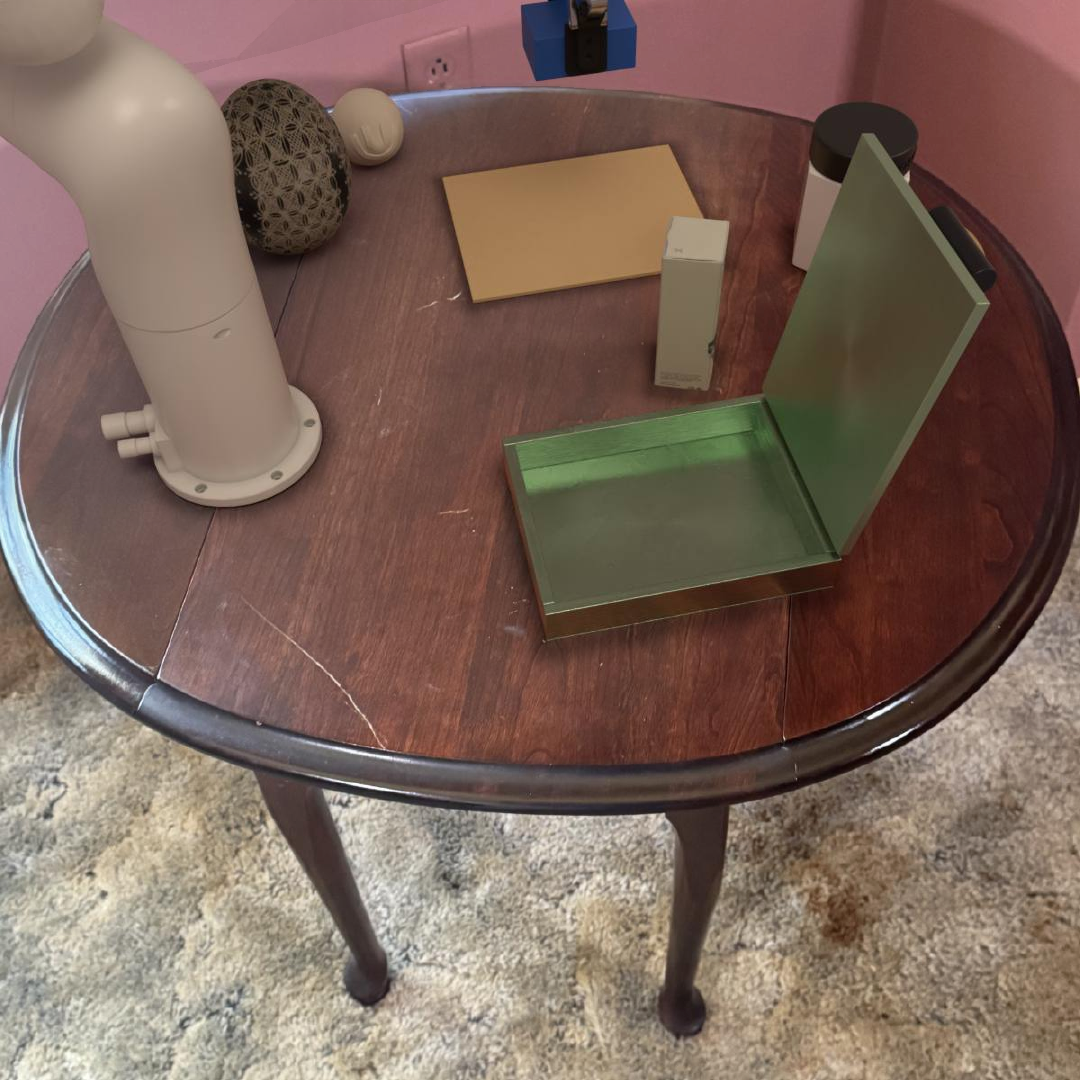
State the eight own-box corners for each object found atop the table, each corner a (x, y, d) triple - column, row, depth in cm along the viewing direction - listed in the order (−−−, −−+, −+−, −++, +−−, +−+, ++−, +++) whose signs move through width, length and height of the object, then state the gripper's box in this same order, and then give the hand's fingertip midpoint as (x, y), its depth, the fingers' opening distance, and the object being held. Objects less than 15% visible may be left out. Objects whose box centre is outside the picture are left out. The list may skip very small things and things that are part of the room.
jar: (886, 291, 93) (921, 166, 84) (788, 282, 94) (811, 157, 85) (886, 226, 99) (919, 101, 89) (793, 218, 100) (815, 94, 90)
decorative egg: (273, 192, 105) (234, 38, 93) (385, 217, 102) (359, 61, 90) (207, 267, 98) (155, 112, 86) (324, 296, 95) (288, 139, 83)
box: (707, 398, 86) (724, 265, 76) (651, 391, 87) (660, 258, 77) (715, 352, 89) (731, 218, 79) (660, 346, 90) (670, 212, 80)
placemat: (473, 303, 94) (472, 300, 94) (442, 180, 105) (442, 177, 104) (723, 264, 96) (724, 260, 96) (668, 147, 107) (668, 144, 107)
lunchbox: (547, 647, 73) (545, 615, 70) (504, 472, 82) (501, 437, 79) (831, 593, 75) (842, 559, 72) (758, 428, 84) (765, 392, 81)
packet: (535, 82, 86) (534, 39, 84) (522, 46, 90) (520, 4, 87) (635, 67, 87) (637, 25, 84) (619, 32, 90) (620, -10, 88)
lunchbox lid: (977, 303, 56) (1059, 302, 57) (861, 132, 65) (934, 133, 66) (838, 556, 71) (904, 550, 72) (760, 388, 81) (821, 385, 82)
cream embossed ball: (351, 189, 104) (338, 125, 99) (329, 148, 109) (316, 85, 103) (418, 171, 106) (410, 106, 101) (394, 131, 110) (385, 68, 105)
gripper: (496, -248, 78) (511, 6, 93) (544, -150, 68) (553, 118, 82) (599, -260, 79) (598, -7, 93) (663, -165, 69) (651, 103, 83)
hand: (577, 49), depth 88 cm, fingers closed on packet, 5 cm apart
